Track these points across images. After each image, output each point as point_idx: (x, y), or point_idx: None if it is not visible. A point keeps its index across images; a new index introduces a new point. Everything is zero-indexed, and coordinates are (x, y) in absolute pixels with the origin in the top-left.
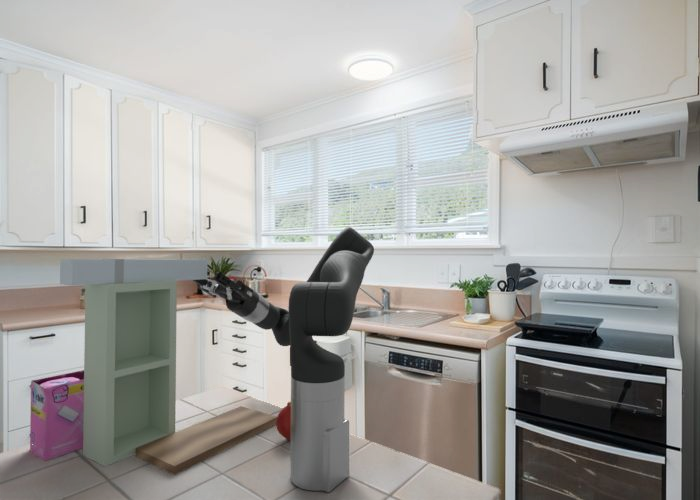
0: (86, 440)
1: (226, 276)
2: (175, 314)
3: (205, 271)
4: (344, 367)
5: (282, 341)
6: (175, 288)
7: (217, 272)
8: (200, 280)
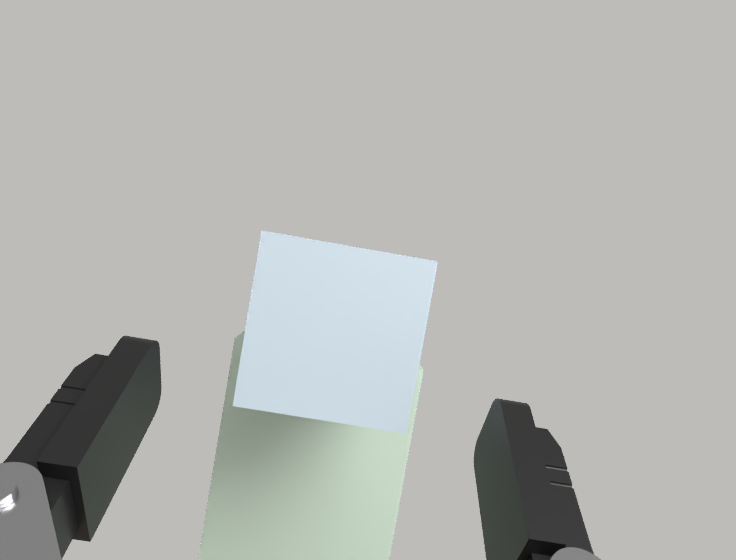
0: None
1: (70, 410)
2: (209, 497)
3: (247, 334)
4: None
5: None
6: (231, 373)
7: (144, 341)
8: (495, 522)
